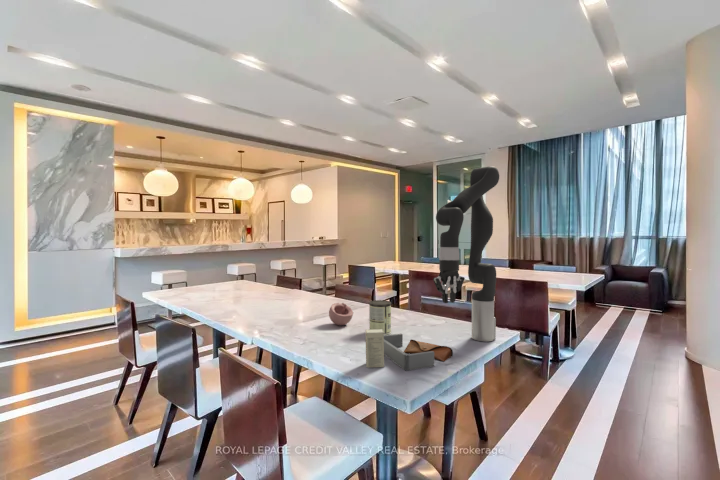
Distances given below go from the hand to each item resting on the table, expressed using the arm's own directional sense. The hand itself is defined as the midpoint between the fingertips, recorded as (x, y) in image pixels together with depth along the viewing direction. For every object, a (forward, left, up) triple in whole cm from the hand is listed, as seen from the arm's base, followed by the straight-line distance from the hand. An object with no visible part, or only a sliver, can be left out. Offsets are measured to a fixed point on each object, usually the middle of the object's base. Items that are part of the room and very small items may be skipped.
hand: (448, 302), depth 139 cm
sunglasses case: (+10, 0, -20) cm, 22 cm away
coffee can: (+14, -33, -19) cm, 41 cm away
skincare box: (+33, +4, -19) cm, 39 cm away
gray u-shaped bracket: (+19, 0, -19) cm, 27 cm away
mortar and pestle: (+27, -52, -19) cm, 62 cm away
